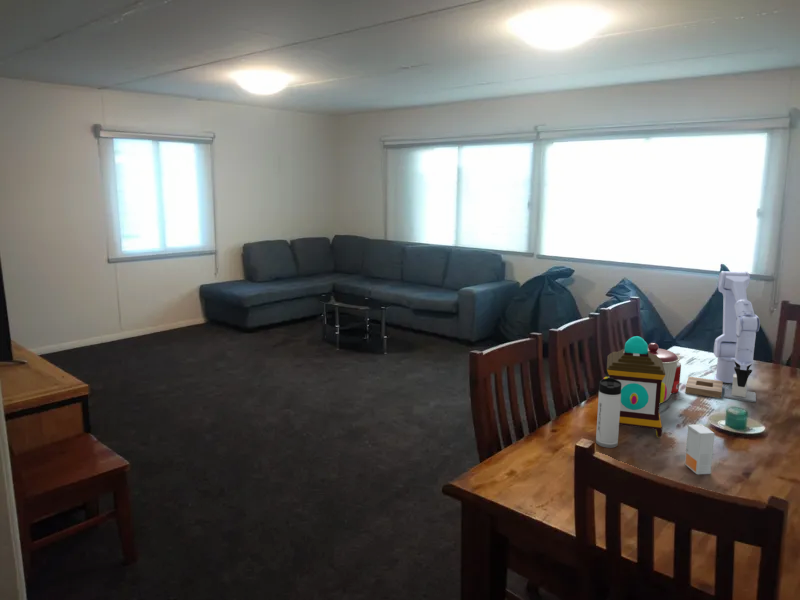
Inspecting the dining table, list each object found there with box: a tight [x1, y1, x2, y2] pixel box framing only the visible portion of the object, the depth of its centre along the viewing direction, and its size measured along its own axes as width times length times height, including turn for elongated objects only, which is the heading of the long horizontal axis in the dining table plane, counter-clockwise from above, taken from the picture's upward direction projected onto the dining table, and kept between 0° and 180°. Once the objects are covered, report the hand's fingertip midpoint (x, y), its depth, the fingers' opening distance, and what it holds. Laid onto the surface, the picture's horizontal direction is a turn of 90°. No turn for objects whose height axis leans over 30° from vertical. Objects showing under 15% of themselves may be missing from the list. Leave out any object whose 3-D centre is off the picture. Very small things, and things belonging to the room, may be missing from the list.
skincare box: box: [684, 423, 715, 475], centre depth 158 cm, size 6×4×12 cm
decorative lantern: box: [602, 335, 667, 438], centre depth 187 cm, size 20×20×30 cm
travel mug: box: [595, 378, 621, 449], centre depth 174 cm, size 6×7×20 cm
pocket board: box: [684, 376, 724, 399], centre depth 222 cm, size 14×12×2 cm
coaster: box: [724, 388, 757, 403], centre depth 216 cm, size 10×10×1 cm
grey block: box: [731, 374, 748, 397], centre depth 215 cm, size 4×4×7 cm
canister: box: [647, 342, 681, 403], centre depth 212 cm, size 18×18×21 cm
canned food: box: [671, 361, 682, 394], centre depth 221 cm, size 8×8×11 cm
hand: (741, 383), depth 215 cm, fingers open, 7 cm apart
